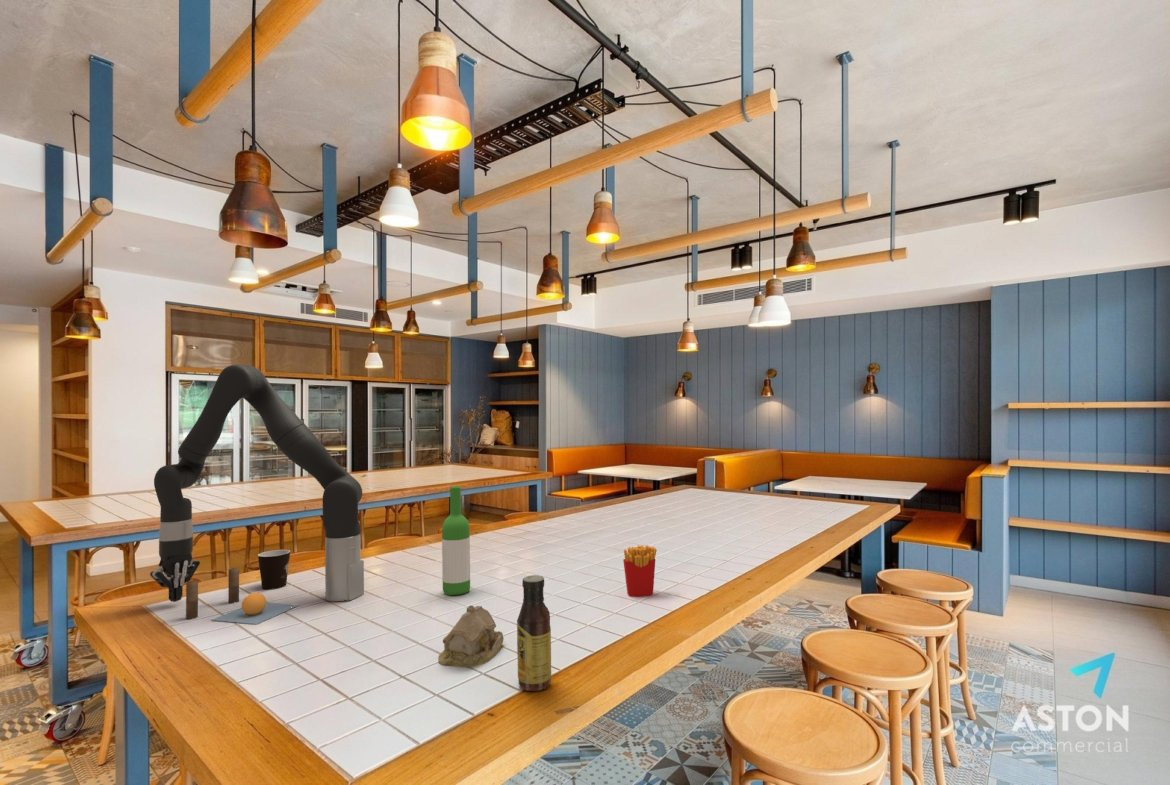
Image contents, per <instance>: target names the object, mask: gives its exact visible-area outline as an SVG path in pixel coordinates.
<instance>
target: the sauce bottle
mask: <svg viewBox="0 0 1170 785" xmlns="http://www.w3.org/2000/svg"><path fill="white" fill-rule="evenodd" d="M544 577H545V576H543V575H539V574H538V575H537V574H532V575H526V576H524V577H523V578H522V583H521V584H522V588H523V589H522V590H523V592H522V593H523V599H522V604H521V608H520V611H519V615H518V617H517V621H516V636H517V637H516V640H517V641H516V646H517V648H516V649H517V651H516V652H517V679H518V680H517V681H518V686H519V687H520V688H521V689H522V690H523V691H526V692H537V691H539V692H540V691H544V690H546V689H547V688H548V687H549V686H550V685H551V681H552V634H551V633H552V632H551V631H552V629H551V614H550V611H549V609H548V606H546V603H545V602H544V601H545V598H544V587H545V578H544Z"/></svg>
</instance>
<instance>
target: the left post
mask: <svg viewBox="0 0 1170 785" xmlns="http://www.w3.org/2000/svg"><path fill="white" fill-rule="evenodd" d="M185 587H186V588H185V590H186V591H185V619H186V620H193V619H192V618H194V619H197V618H199V615H198V614H199V580H190V581H189V582H186V583H185ZM196 617H197V618H196Z"/></svg>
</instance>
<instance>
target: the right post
mask: <svg viewBox="0 0 1170 785" xmlns="http://www.w3.org/2000/svg"><path fill="white" fill-rule="evenodd" d="M227 575H228V594H227V596H228V597H227V598H228V599H227V601H228V602H229V603H228V602H227V603H228V604H235V603H234V602H236V603H238V602H239V601H240V568H239V567H233V568H232V567H231V568H229V569H228V574H227Z"/></svg>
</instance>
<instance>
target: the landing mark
mask: <svg viewBox="0 0 1170 785" xmlns="http://www.w3.org/2000/svg"><path fill="white" fill-rule="evenodd" d="M298 605H299V604H294V603H293V604H291V603H277V602H267V601H266V606H265V608H264V609H263V610H262V611H261V612H260V613H259V614H256V615H248V614H246V613H244V612H243V610H242V607H240V608H237V609H235V610H231V611H230V612H227V613H225V614H222V615H220V616H217V617H215V618H212V619H211V620H212V621H211V622H220V621H228V622H227V623H231V622H237V623H236V624H242V623H245V624H244V625H253V624H257V625H259V624H262V623H263V621H264V622H266V621H268V620H271V619H272V617H273V618H274V617H277V616H279V615H281V613H282V614H283V612H284V613H286V612H288V611H290V610H289V609H291V607H292V608H293V607H295V608H297V607H299V606H298ZM296 606H297V607H296ZM293 609H294V608H293ZM287 610H288V611H287ZM291 610H292V609H291ZM285 611H286V612H285ZM213 620H214V621H213ZM215 620H216V621H215ZM265 620H266V621H265ZM261 622H262V623H261Z"/></svg>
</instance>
